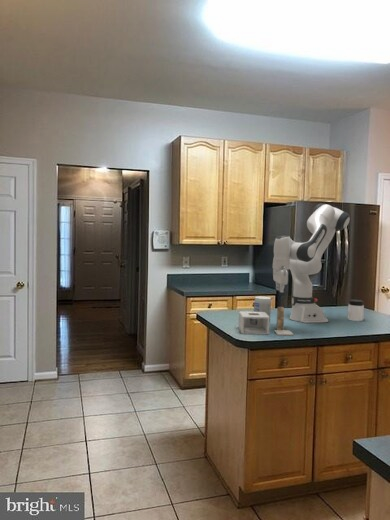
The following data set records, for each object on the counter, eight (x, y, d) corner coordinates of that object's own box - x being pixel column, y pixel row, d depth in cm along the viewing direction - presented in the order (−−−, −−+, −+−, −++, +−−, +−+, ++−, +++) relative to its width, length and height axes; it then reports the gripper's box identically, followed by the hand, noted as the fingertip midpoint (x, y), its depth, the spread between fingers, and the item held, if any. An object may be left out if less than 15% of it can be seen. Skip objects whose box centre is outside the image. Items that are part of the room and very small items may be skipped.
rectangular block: (282, 328, 223) (282, 307, 222) (283, 330, 220) (284, 308, 219) (276, 328, 223) (277, 306, 222) (277, 330, 220) (278, 307, 219)
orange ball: (256, 323, 219) (256, 315, 219) (257, 324, 215) (258, 317, 215) (249, 323, 219) (249, 315, 219) (250, 324, 215) (250, 317, 215)
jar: (345, 318, 256) (346, 299, 255) (358, 318, 256) (359, 299, 256) (351, 321, 247) (352, 301, 246) (365, 321, 247) (366, 301, 247)
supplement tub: (251, 323, 235) (252, 297, 234) (255, 320, 243) (256, 295, 242) (268, 325, 231) (269, 299, 230) (271, 321, 240) (272, 297, 239)
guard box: (264, 327, 224) (264, 311, 224) (268, 334, 210) (269, 317, 210) (238, 327, 224) (239, 311, 223) (241, 333, 210) (242, 316, 209)
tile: (289, 331, 216) (289, 330, 216) (293, 335, 208) (293, 334, 208) (274, 331, 216) (274, 329, 216) (277, 335, 208) (277, 333, 208)
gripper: (291, 267, 210) (290, 294, 210) (282, 264, 230) (281, 289, 231) (279, 266, 209) (277, 293, 210) (271, 264, 230) (270, 288, 231)
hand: (279, 291), depth 221 cm, fingers open, 8 cm apart
